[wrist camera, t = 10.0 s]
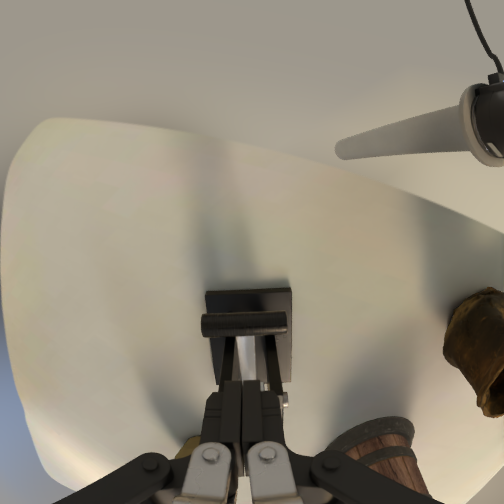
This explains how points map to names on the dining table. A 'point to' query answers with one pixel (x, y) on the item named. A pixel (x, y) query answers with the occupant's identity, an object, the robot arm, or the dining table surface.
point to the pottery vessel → (480, 347)
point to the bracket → (266, 347)
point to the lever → (245, 333)
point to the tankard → (384, 450)
